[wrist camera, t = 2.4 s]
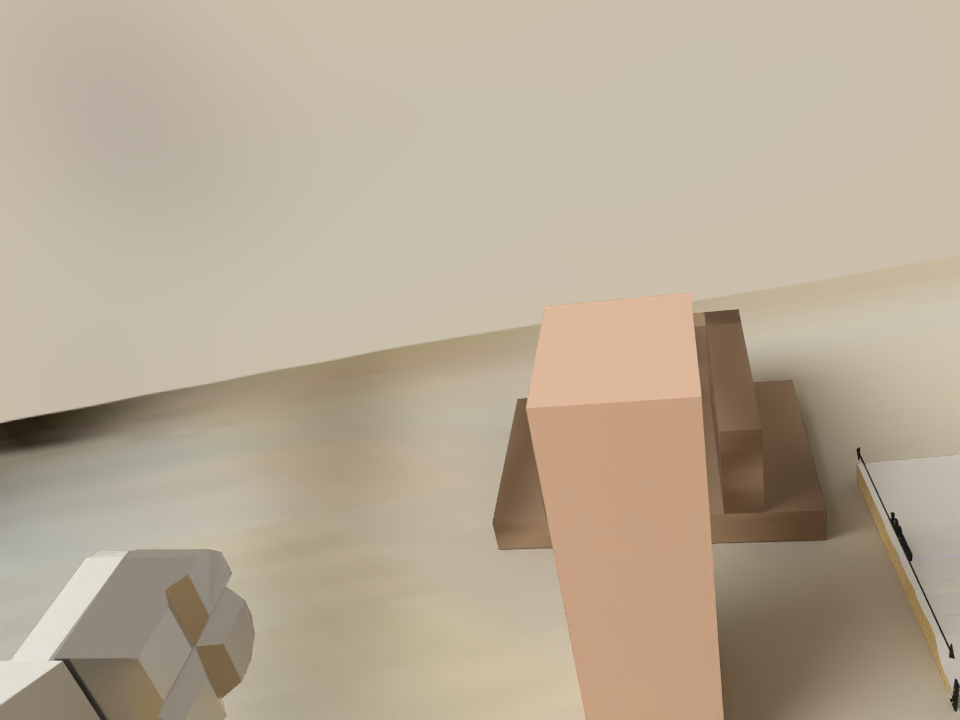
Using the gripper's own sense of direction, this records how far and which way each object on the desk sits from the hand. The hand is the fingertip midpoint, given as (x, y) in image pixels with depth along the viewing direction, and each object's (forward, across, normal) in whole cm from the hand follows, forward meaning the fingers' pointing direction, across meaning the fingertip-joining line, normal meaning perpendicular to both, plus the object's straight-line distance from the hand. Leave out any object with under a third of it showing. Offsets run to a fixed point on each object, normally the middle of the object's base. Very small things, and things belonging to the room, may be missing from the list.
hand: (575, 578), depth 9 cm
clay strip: (+12, 0, -19) cm, 22 cm away
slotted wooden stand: (+24, -1, -19) cm, 31 cm away
